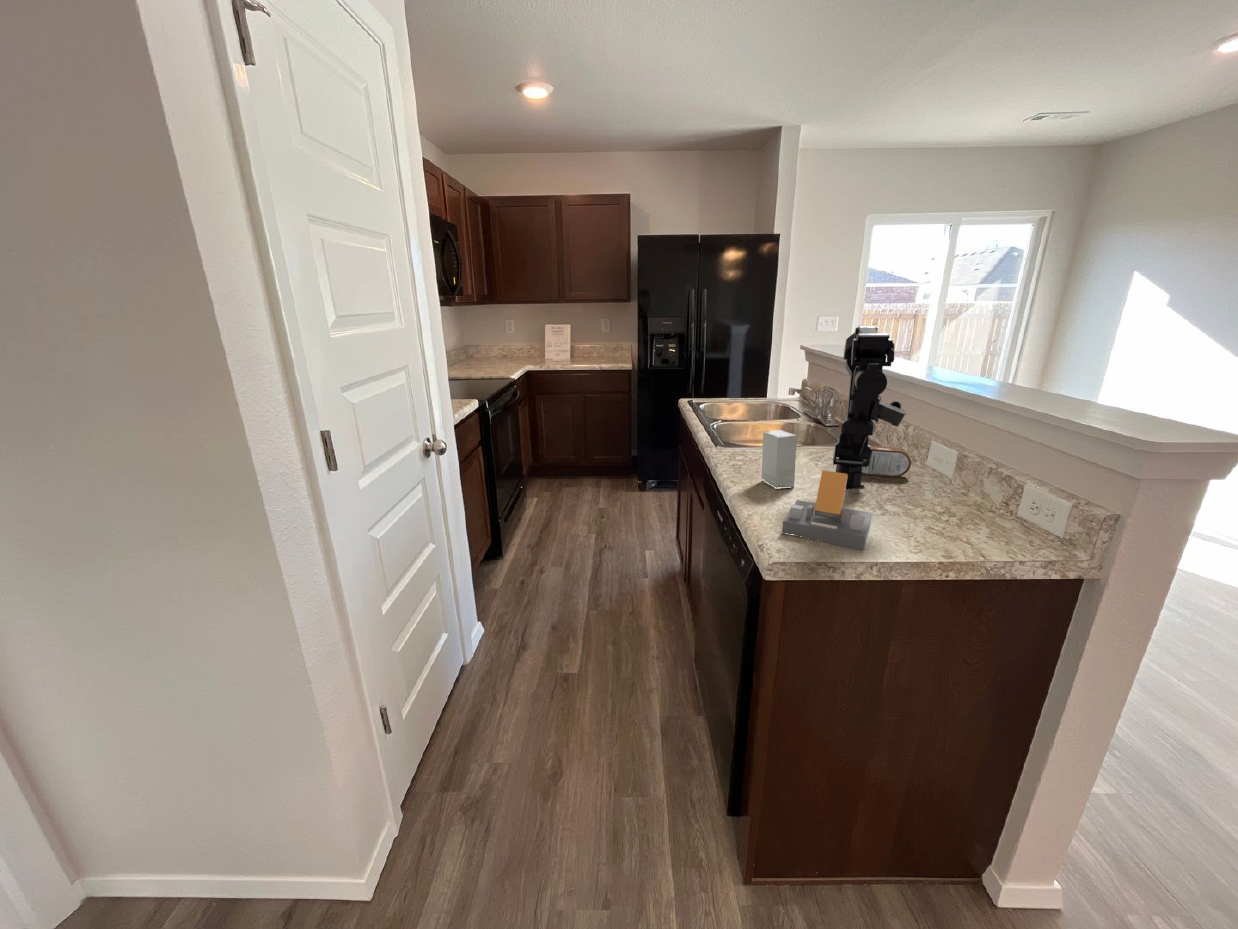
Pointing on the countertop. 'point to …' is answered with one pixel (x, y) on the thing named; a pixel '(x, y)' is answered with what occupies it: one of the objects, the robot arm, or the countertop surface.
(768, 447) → the skincare box
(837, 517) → the lever
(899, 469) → the tin
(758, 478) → the countertop surface
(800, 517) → the box
